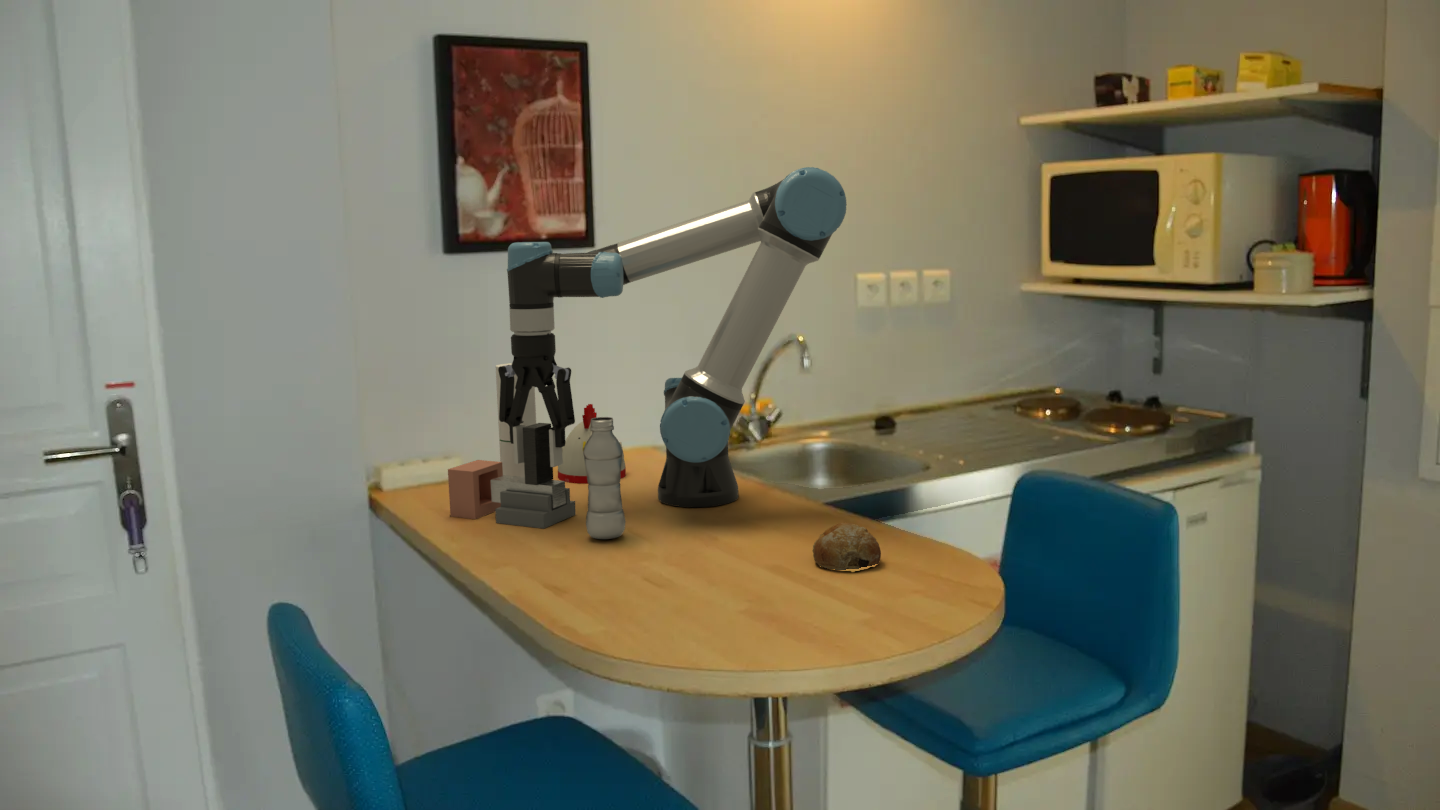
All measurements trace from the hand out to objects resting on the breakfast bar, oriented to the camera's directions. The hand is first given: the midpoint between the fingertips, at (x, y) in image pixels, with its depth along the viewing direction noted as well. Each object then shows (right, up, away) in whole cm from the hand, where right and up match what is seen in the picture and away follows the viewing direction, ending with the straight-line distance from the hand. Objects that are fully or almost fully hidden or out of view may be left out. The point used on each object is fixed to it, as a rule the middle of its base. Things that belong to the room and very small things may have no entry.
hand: (538, 463), depth 196 cm
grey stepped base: (-1, -10, +2) cm, 10 cm away
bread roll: (+51, -14, -26) cm, 59 cm away
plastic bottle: (+13, -12, -11) cm, 21 cm away
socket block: (-12, -9, +8) cm, 17 cm away
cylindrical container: (-7, -7, +21) cm, 24 cm away
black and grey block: (-2, -7, +2) cm, 8 cm away
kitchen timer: (+5, -5, +35) cm, 36 cm away
